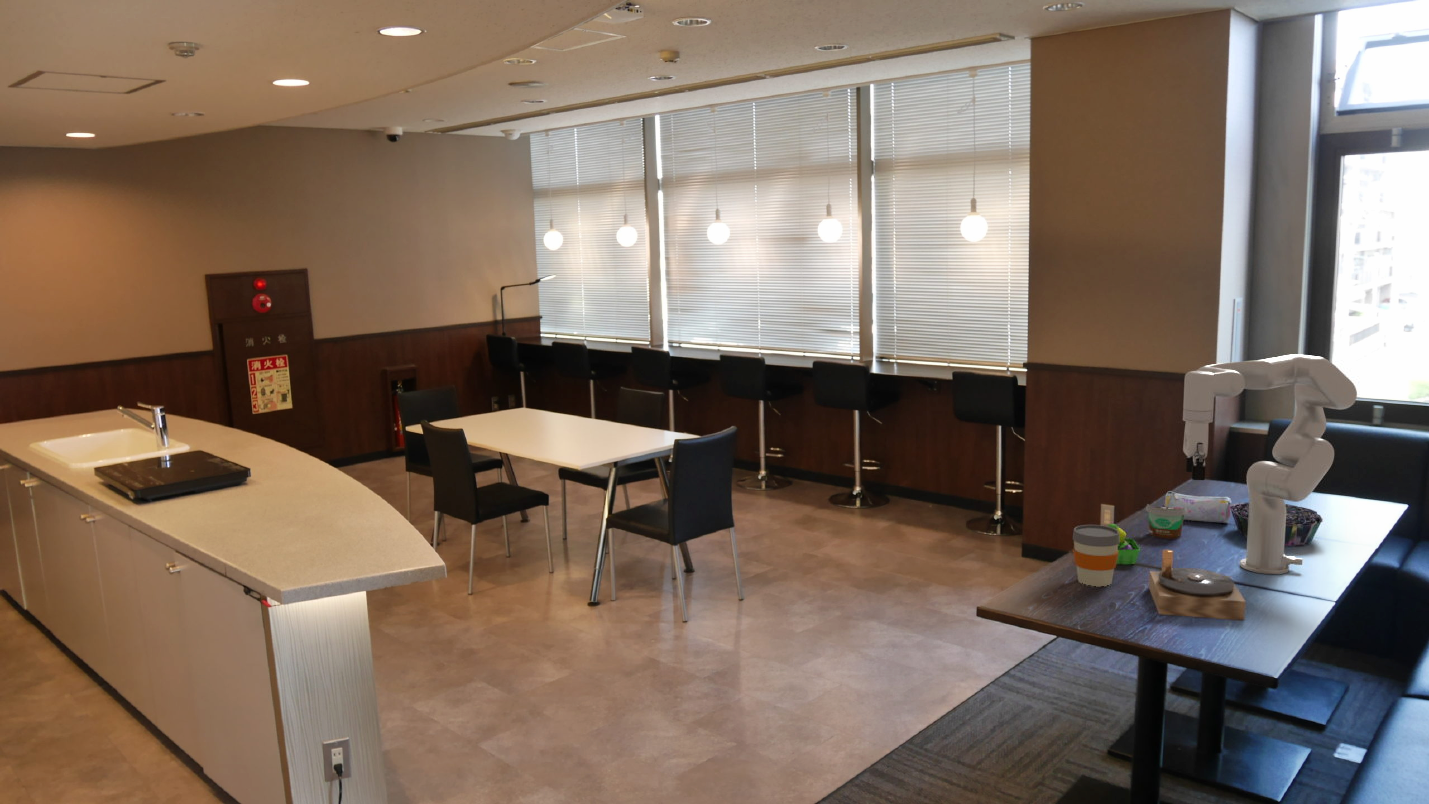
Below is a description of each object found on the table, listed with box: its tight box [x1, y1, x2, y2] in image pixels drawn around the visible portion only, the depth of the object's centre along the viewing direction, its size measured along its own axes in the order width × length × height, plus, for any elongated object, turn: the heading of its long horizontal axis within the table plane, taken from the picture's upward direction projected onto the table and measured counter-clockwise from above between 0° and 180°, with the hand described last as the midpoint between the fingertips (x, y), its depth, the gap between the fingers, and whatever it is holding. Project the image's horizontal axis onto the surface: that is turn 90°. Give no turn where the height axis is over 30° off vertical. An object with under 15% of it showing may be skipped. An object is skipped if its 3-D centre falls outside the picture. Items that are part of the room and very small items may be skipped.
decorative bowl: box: [1229, 502, 1324, 547], centre depth 318 cm, size 26×28×10 cm
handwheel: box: [1158, 549, 1235, 596], centre depth 262 cm, size 18×18×9 cm
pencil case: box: [1162, 490, 1232, 524], centre depth 339 cm, size 21×9×10 cm, turn 56°
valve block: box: [1148, 570, 1246, 621], centre depth 263 cm, size 20×20×5 cm
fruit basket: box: [1107, 523, 1141, 565], centre depth 300 cm, size 11×9×11 cm
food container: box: [1145, 503, 1187, 540], centre depth 321 cm, size 12×6×10 cm, turn 68°
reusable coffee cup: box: [1072, 524, 1120, 588], centre depth 281 cm, size 13×12×15 cm
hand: (1195, 475), depth 277 cm, fingers open, 9 cm apart
